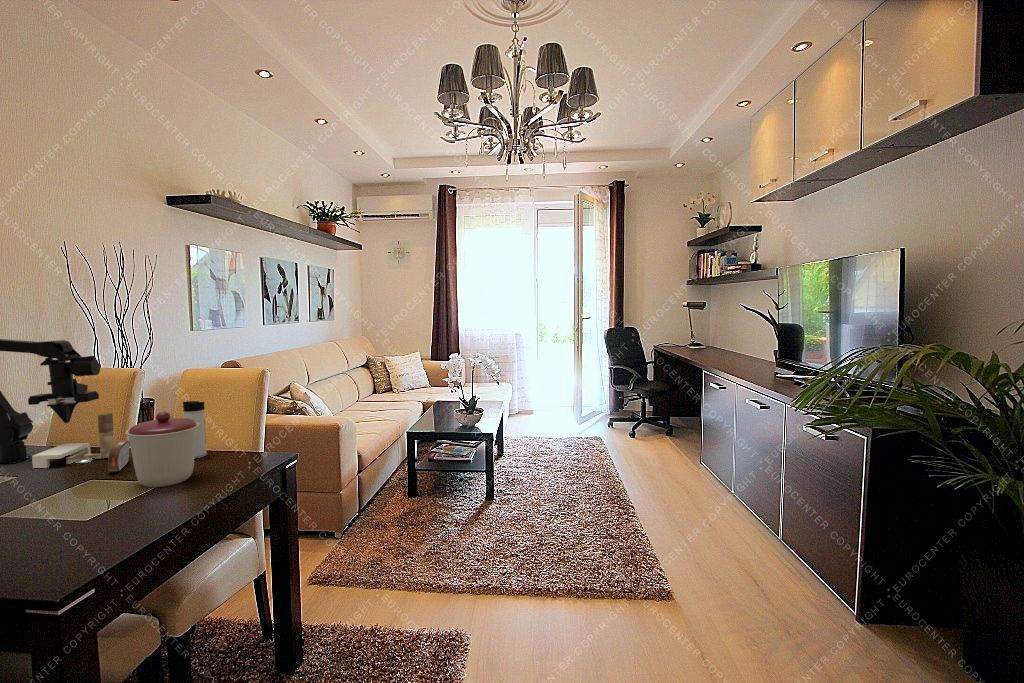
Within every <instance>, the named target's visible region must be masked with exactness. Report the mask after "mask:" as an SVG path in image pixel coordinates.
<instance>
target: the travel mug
mask: <svg viewBox="0 0 1024 683" xmlns="http://www.w3.org/2000/svg"><path fill="white" fill-rule="evenodd" d="M182 407H183V411H182V412H183V415H182V416H183V417H182V418H186V419H191V420H194V421H195V422H198V423H199V424H200V425H199V427H198V428H197V436H196V448H195V458H200V457H204V456H206V455H208V453H207V435H206V434H207V433H206V432H207V430H206V409H205V401H199V400H190V401H189V400H188V401H183V402H182ZM206 457H207V456H206ZM204 458H205V457H204Z"/></svg>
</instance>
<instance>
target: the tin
mask: <svg viewBox="0 0 1024 683" xmlns="http://www.w3.org/2000/svg"><path fill="white" fill-rule="evenodd" d="M130 451H131V447H130V442H129V439H127V440H126V439H125V440H120V439H119V440H117V441H116V442H114V445H113V446H112V447H111V449H110V452H109V456H108V459H107V470H108V472H109V473H115V472H116V473H117V472H118V471H119V472H121V471H122V470H123V469H124V468H125V467H126V466H127V465H128V464H127V463H129V461H130V456H131V454H130ZM126 464H127V465H126ZM125 465H126V466H125ZM124 466H125V467H124ZM123 467H124V468H123ZM122 468H123V469H122ZM121 469H122V470H121ZM119 472H118V473H119Z"/></svg>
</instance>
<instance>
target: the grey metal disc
mask: <svg viewBox="0 0 1024 683" xmlns="http://www.w3.org/2000/svg"><path fill="white" fill-rule="evenodd" d="M92 460H93V459H92V458H82V459H78V460H76V461H75V463H88V462H91V461H92ZM75 463H74V464H75Z"/></svg>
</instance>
